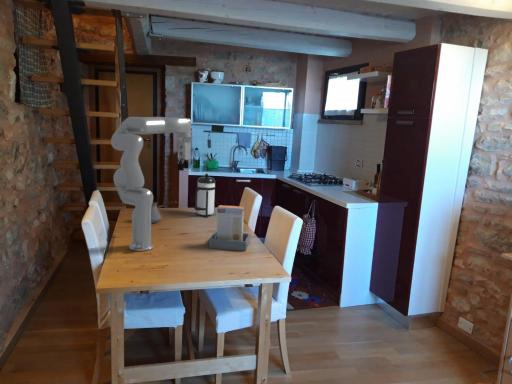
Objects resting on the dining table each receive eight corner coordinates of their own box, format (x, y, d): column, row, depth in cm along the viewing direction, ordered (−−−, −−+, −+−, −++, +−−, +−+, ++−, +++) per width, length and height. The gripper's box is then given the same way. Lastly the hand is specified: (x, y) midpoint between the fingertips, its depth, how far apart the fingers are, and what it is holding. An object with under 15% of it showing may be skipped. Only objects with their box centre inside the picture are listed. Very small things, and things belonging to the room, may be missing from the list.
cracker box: (242, 242, 224) (244, 206, 220) (241, 246, 218) (243, 208, 214) (218, 240, 225) (219, 204, 221) (215, 243, 219) (217, 206, 215)
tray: (245, 251, 213) (246, 242, 212) (208, 247, 215) (209, 238, 214) (249, 242, 228) (249, 233, 227) (215, 239, 230) (215, 230, 229)
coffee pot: (141, 223, 253) (141, 200, 251) (145, 219, 265) (146, 197, 262) (174, 225, 254) (175, 202, 251) (178, 221, 265) (178, 199, 262)
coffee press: (192, 212, 290) (193, 171, 285) (214, 212, 293) (216, 172, 288) (193, 218, 273) (194, 175, 268) (216, 218, 276) (218, 176, 271)
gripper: (186, 141, 220) (185, 171, 224) (194, 139, 237) (193, 168, 241) (172, 140, 221) (172, 170, 224) (182, 138, 238) (181, 167, 241)
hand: (183, 169), depth 232 cm, fingers open, 9 cm apart
